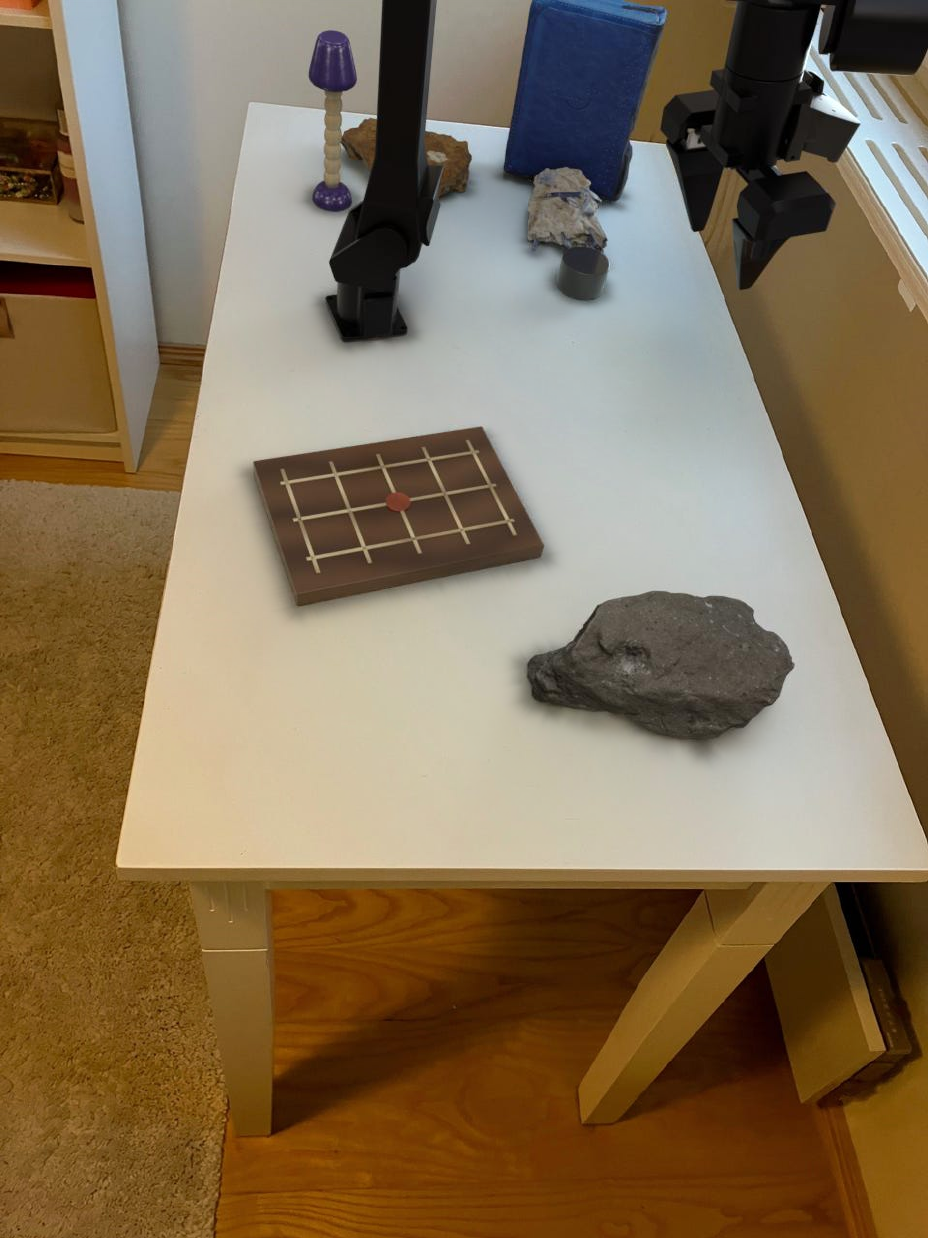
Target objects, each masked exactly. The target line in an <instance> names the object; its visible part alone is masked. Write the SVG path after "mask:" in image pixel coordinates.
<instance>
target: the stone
mask: <svg viewBox="0 0 928 1238" xmlns="http://www.w3.org/2000/svg"><path fill="white" fill-rule="evenodd" d="M754 614H755V610H754V608H753V607H751V606H750V605H749V604H747V603H746V602H745V601H743V600H741V599H737V598H734V597H729V596H725V595H707V596H704V597H702V596H699V595H693V594H690V593H686V592H670V591H667V590H651V591H646V592H644V593H640V594H636V595H628V596H622V597H617V598H612V599H608V600H605V601H603V602H602V603H600V604H597V605H596V606H595V608H594V609H593V611H592V613H591V614H590V615H589V616H588V618H587V619H586V621H585V622H584V623H583V624H582V628H580V629H579V631H578V632H577V633H576V635H575V636H574V637H573V639H572V640H571V641H569V642H568V643H567V644H566V645H565V646H562V647H560V648H558V649H555V650H550V651H547V652H545V653H539V654H538V653H537V654H535V655H533V656H532V657H531V658H529V660H528V662H527V664H526V665H527V675H526V678H527V679H528V680H529V683H530V684H531V696H532V698H533V699H534V700H536V701H538V702H541V703H544V704H548V705H552V706H557V707H563V708H569V709H574V710H583V711H590V712H596V713H597V712H604V713H608V714H612V715H624V716H628V717H629V718H630V719H632V720H635V721H637V722H639V723H640V724H641V725H642V726H643V727H644V728H645V729H646V730H648V731H650V732H653V733H657V734H660V735H664V736H670V737H676V738H680V739H687V740H688V739H695V738H696V739H697V738H699V739H703V740H708V739H710V740H711V739H715V738H718V737H719V736H721V735H723V734H724V733H725V732H728V731H729V730H731V729H744V728H745V727H746V726H747V725H749V723H750V722H751V721H752V720H753V719H754V718H755V717H756V716H758V715H759V714H760V713H761V712H762V711H763V710H764V709H765V708H767V707H770V706H773V705H774V704H775V703H776V701H777V700H778V699H779V698H780V696H781V693H782V689H783V686H784V684H785V681H786V678H787V676H788V675H789V674H790V673H791V672H792V671H793V670H794V668H795V663H794V662H793V656H792V655H791V653H790V649H789V647H788V645H787V644H786V642H785V641H784V640H783V639H782V638H781V636H779V635H778V634H777V632H774V631H771V630H766V629H764V628H763V627H762V626H761V625H760V624H759V623H757V622H756V619H755V616H754Z"/></svg>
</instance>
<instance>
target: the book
mask: <svg viewBox="0 0 928 1238" xmlns="http://www.w3.org/2000/svg"><path fill="white" fill-rule="evenodd" d="M667 19H668V11H667V9H665V7H663V6H659V5H658V6H652V5H645V4H639V3H634V2H631V1H630V2H629V1H626V0H531V3H530V6H529V11H528V17H527V22H526V23H527V25H526V29H525V35H524V40H523V41H524V42H523V46H522V54H521V60H520V66H519V70H518V71H519V72H518V78H517V83H516V84H517V85H516V91H515V96H514V103H513V109H512V115H511V119H510V123H509V124H510V125H509V131H508V135H507V141H506V147H505V152H504V161H503V162H504V163H503V167H502V170H503V173H504V174H506V175H509V176H512V177H514V178H516V179H520V180H522V181H529V182H532V183H534V177H535V176H536V175H539V174H540V173H541V172H542V171H545V169H546V168H547V169H550V170H556V169H560V168H564V167H568V168H569V169H579V170H581V171H582V173H583V175H584V176H585V178H586V179H588V180H589V181H590V182H591V184H590V186H589V190H590V191H592V192H593V193H595V194H596V195H597V196H598V197H599V198H600V200H601V201H605V202H617V201H619V200H620V199H621V196H622V195H623V192H624V189H625V187H626V185H627V182H628V179H629V173H630V164H631V162H632V159H633V156H634V155H633V153H634V152H633V150H634V149H633V144H631V142H630V141H631V137H632V135H633V132H634V131H635V128H636V126H637V122H638V119H639V115H640V110H641V106H642V103H643V100H644V98H645V94H646V91H647V87H648V86H649V85H648V84H649V80H650V77H651V74H652V72H653V71H652V70H653V68H654V64H655V60H656V57H657V54H658V52H659V51H658V50H659V48H660V45H661V40H662V39H663V36H664V35H663V34H664V30H665V27H666V25H667V21H668V20H667Z"/></svg>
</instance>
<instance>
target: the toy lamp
mask: <svg viewBox="0 0 928 1238" xmlns="http://www.w3.org/2000/svg"><path fill="white" fill-rule="evenodd" d="M309 64H310V65H309V68H308V79H309V81H310V83H311V84H312V85H313V87H316V88H318V89H320V90H323V91H324V96H325V98H324V102H323V106H324V110H325V113H324V117H323V121H324V126H325V128H324V131H323V138H324V141H325V142H324V145H323V154H324V158H323V168H324V172H323V180H322V181H320V182H318V184H317V185H316V186H315V187H314V189H313V191H312V197H311V199H312V202H313V204H314V205H316V206H317V208H320V209H322V210H325V211H329V212H341V211H345V210H346V209H348V208H350V207H351V205H352V203H353V197H352V193H351V191H350V188H348V186H347V185H346V184H344V183H343V182H342V181H341V179H342V177H341V176H342V175H341V171H340V170H341V167H342V160H341V155H342V144H341V143H340V142H341V139H342V136H343V132H342V129H341V127H342V124H343V116H342V111H343V100H342V96H343V92H347V91H350V90H352V89H353V88H354V87H355V86H356V85H357V81H358V76H357V70H356V65H355V61H354V55H353V51H352V46H351V42H350V39H349V37H348V35H346V34H345V33H344V32H341V31H338V30H332V29H329V30H323V31H322V32H320V33H319V34H318V35H317V37H316V40H315V44H314V47H313V52H312V56H311V60H310V63H309Z"/></svg>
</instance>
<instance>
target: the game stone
mask: <svg viewBox="0 0 928 1238" xmlns="http://www.w3.org/2000/svg"><path fill="white" fill-rule="evenodd" d="M604 254H605V253H604ZM604 254H602V253H601V252H599V251H597V250H595V249H592V248H588V247H582V246H577V247H572V248H567V249H565V250H564V252H563V253H562V256H561V259H560V263H559V267H558V272H557V276H556V280H555V282H556V287H557V288H558V289H559V291H560V292H562V293H563V294H564V295H566V296H567V297H570V298H572V299H575V300H580V301H591V300H595V299H597V298H599V297H600V296H602V294H603V292H604V288H605V285H606V282H607V277H608V275H609V272H610V268H611V263H610V261H609V259H608V257H607V256H605V255H606V254H605V255H604Z"/></svg>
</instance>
